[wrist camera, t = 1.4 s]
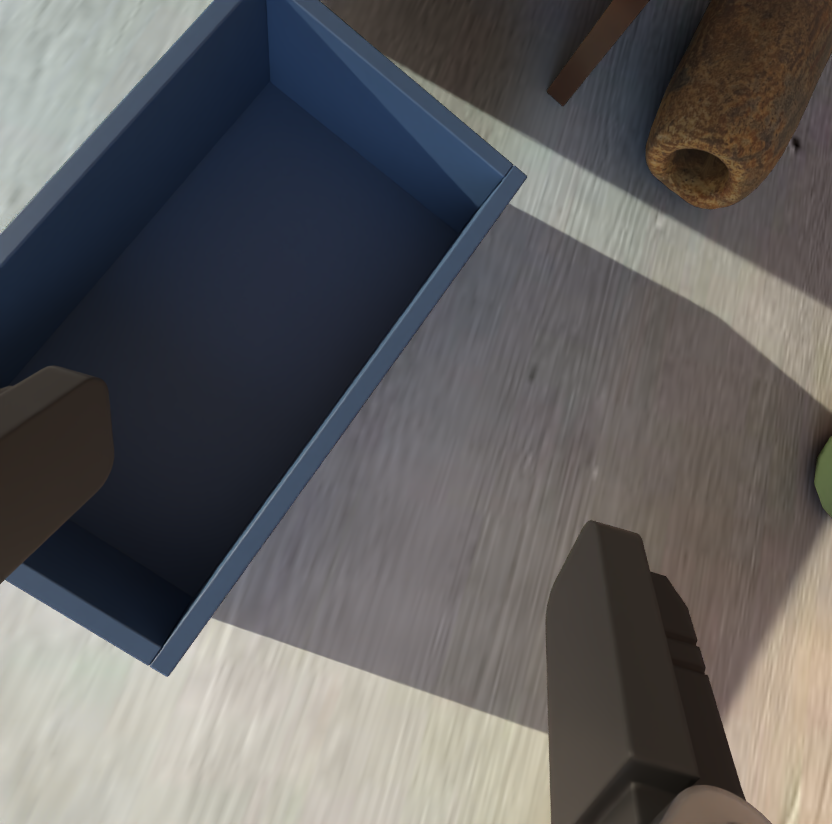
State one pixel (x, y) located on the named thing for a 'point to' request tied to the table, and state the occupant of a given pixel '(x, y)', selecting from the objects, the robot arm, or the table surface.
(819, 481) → the character mug
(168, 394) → the bin
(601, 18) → the stand
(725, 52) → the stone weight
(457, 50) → the table surface
